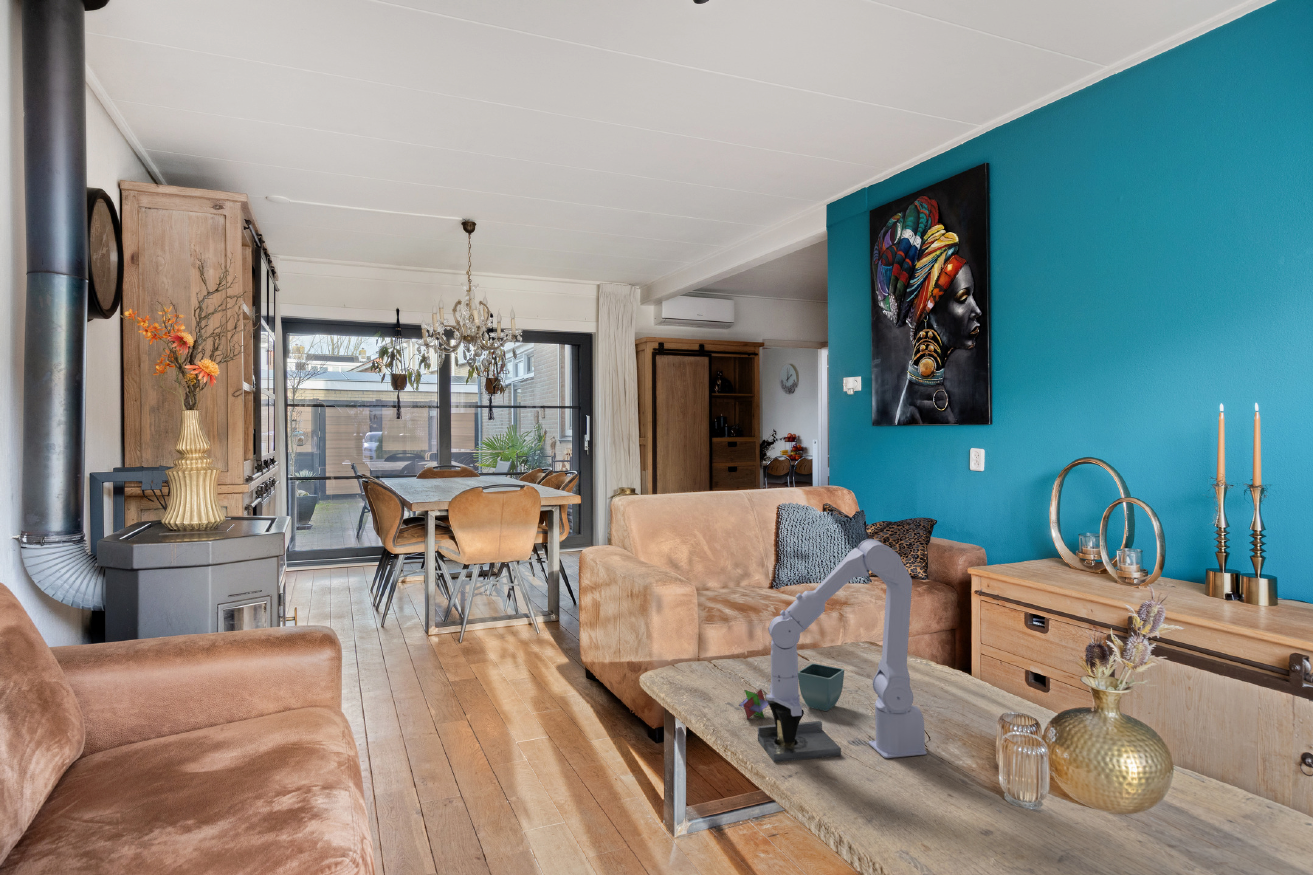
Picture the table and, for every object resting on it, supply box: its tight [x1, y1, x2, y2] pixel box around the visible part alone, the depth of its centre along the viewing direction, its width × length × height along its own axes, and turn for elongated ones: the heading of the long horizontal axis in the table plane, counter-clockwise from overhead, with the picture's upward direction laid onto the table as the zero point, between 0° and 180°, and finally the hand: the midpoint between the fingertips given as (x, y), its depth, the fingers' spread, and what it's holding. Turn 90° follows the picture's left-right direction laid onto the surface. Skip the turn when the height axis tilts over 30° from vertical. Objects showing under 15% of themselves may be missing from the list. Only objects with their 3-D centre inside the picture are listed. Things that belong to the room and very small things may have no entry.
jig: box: [757, 720, 842, 763], centre depth 159 cm, size 14×11×3 cm
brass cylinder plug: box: [777, 719, 795, 747], centre depth 158 cm, size 4×4×6 cm
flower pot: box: [798, 662, 845, 712], centre depth 183 cm, size 9×9×9 cm
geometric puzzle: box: [738, 688, 769, 720], centre depth 177 cm, size 7×7×8 cm
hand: (785, 737), depth 158 cm, fingers closed on brass cylinder plug, 3 cm apart
